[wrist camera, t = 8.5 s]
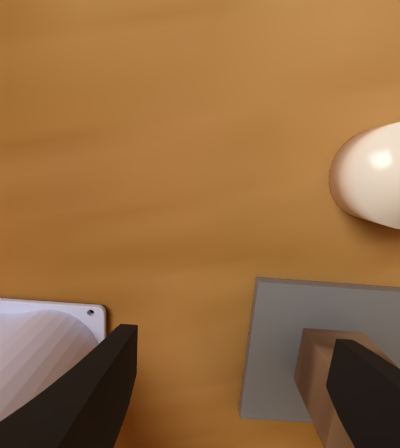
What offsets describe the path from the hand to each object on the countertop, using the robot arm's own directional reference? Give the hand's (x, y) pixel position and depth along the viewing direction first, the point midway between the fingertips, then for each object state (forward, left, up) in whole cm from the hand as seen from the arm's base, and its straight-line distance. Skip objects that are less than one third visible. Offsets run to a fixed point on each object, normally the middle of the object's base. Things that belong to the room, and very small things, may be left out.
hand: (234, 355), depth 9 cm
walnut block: (+9, -7, -9) cm, 14 cm away
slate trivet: (+9, -7, -9) cm, 15 cm away
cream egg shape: (+10, +7, -10) cm, 16 cm away
